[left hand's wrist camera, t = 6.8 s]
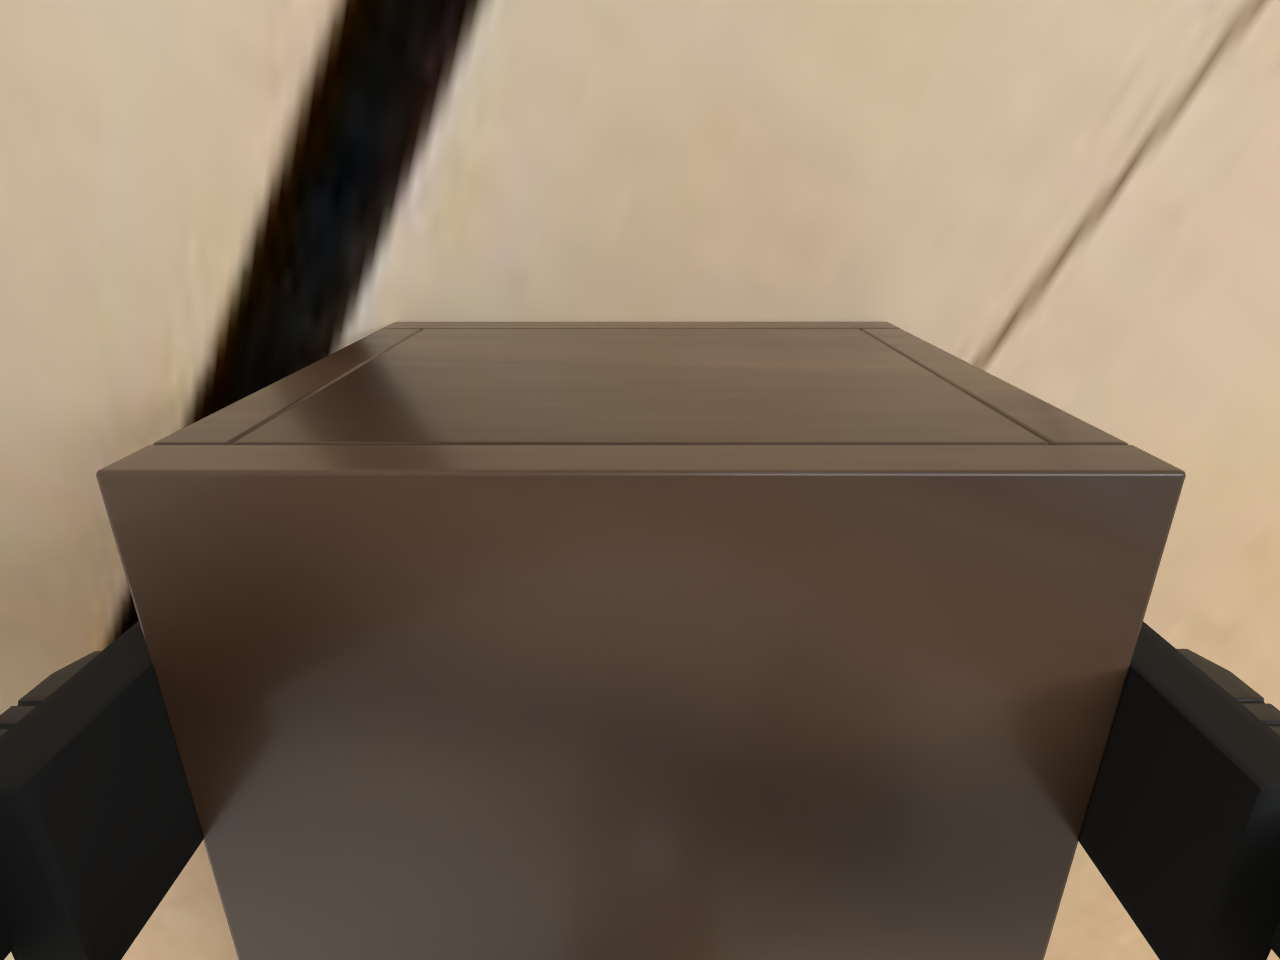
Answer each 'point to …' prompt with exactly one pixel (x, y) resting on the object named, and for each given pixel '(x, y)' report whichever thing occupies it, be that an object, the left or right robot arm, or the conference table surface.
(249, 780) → the cabinet
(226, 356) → the conference table surface
